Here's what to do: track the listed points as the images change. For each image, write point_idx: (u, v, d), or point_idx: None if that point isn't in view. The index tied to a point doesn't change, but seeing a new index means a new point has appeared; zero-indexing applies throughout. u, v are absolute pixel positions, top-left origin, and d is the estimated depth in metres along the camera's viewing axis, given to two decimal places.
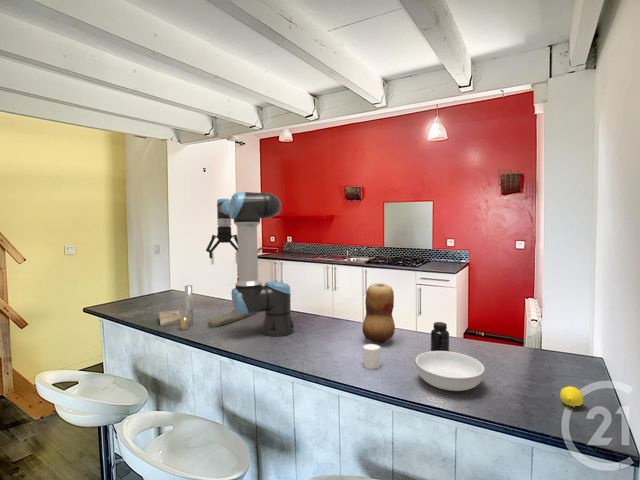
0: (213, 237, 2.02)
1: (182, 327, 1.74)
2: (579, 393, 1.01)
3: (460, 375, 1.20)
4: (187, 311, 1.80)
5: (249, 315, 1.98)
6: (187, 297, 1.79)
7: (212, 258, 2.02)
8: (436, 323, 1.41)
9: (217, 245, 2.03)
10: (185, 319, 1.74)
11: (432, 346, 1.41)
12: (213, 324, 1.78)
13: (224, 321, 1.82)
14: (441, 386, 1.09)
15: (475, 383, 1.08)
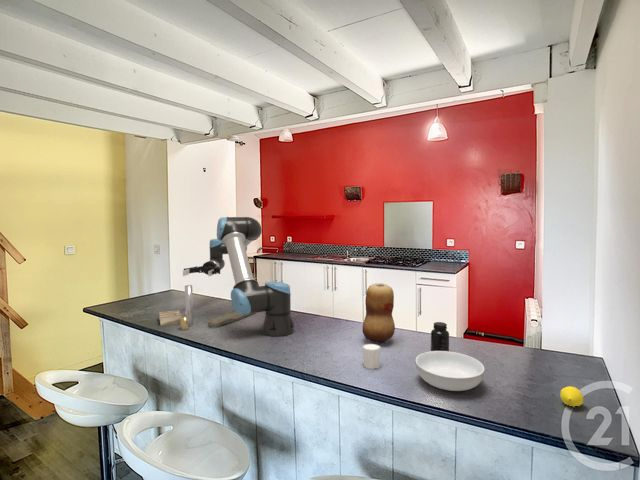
0: None
1: (182, 327, 1.74)
2: (579, 393, 1.01)
3: (460, 375, 1.20)
4: (187, 311, 1.80)
5: (249, 315, 1.98)
6: (187, 297, 1.79)
7: (185, 270, 1.94)
8: (436, 323, 1.41)
9: (196, 268, 2.01)
10: (185, 319, 1.74)
11: (432, 346, 1.41)
12: (213, 324, 1.78)
13: (224, 321, 1.82)
14: (441, 386, 1.09)
15: (475, 383, 1.08)
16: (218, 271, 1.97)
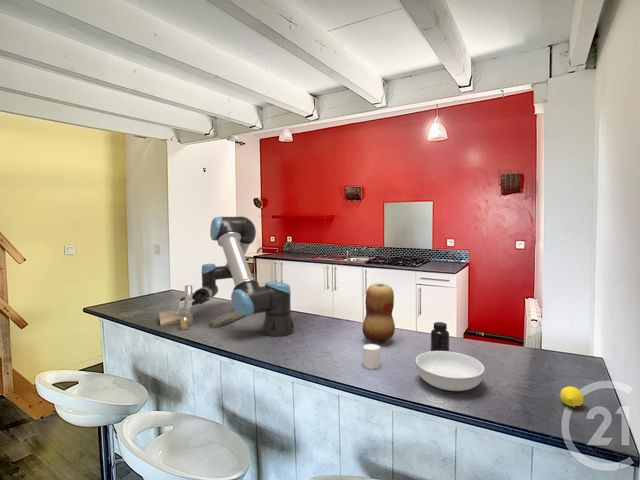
0: None
1: (182, 327, 1.74)
2: (579, 393, 1.01)
3: (460, 375, 1.20)
4: (187, 311, 1.80)
5: None
6: (187, 297, 1.79)
7: (182, 300, 1.79)
8: (436, 323, 1.41)
9: None
10: (185, 319, 1.74)
11: (432, 346, 1.41)
12: (215, 324, 1.78)
13: (225, 321, 1.82)
14: (441, 386, 1.09)
15: (475, 383, 1.08)
16: (199, 301, 1.83)
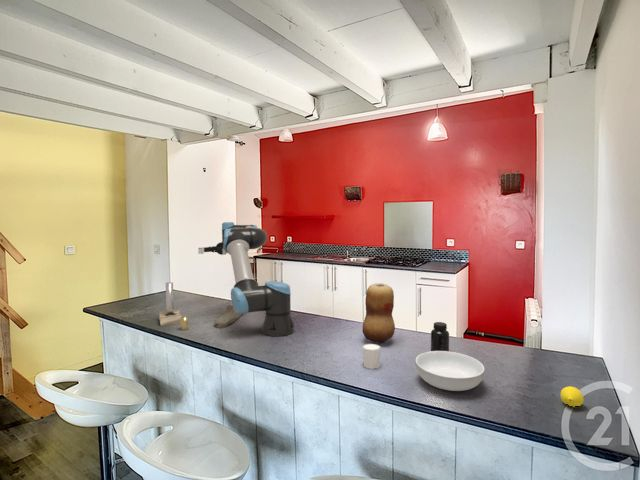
0: None
1: (182, 327, 1.74)
2: (579, 393, 1.01)
3: (460, 375, 1.20)
4: (168, 307, 1.88)
5: None
6: (168, 294, 1.88)
7: (200, 248, 2.05)
8: (436, 323, 1.41)
9: (210, 247, 2.12)
10: (185, 319, 1.74)
11: (432, 346, 1.41)
12: (222, 324, 1.77)
13: (230, 320, 1.83)
14: (441, 386, 1.09)
15: (475, 383, 1.08)
16: None
